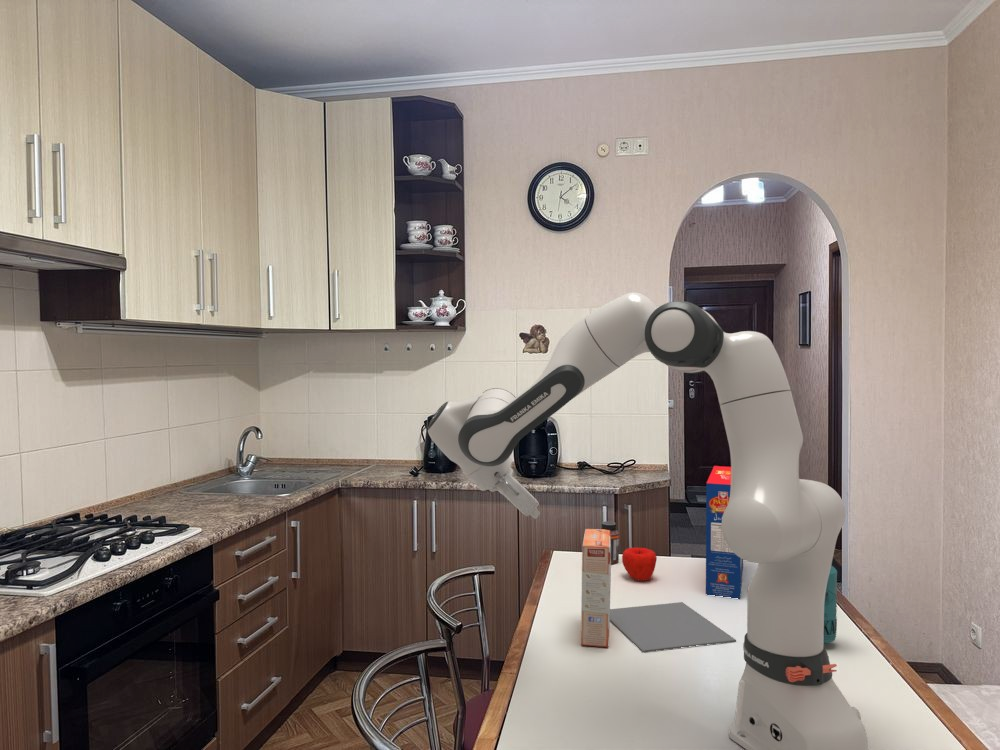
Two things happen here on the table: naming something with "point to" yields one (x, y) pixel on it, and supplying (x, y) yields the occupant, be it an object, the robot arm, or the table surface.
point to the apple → (639, 563)
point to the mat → (666, 627)
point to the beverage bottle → (830, 607)
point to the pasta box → (720, 539)
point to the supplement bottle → (613, 540)
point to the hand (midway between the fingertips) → (536, 514)
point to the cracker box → (596, 587)
